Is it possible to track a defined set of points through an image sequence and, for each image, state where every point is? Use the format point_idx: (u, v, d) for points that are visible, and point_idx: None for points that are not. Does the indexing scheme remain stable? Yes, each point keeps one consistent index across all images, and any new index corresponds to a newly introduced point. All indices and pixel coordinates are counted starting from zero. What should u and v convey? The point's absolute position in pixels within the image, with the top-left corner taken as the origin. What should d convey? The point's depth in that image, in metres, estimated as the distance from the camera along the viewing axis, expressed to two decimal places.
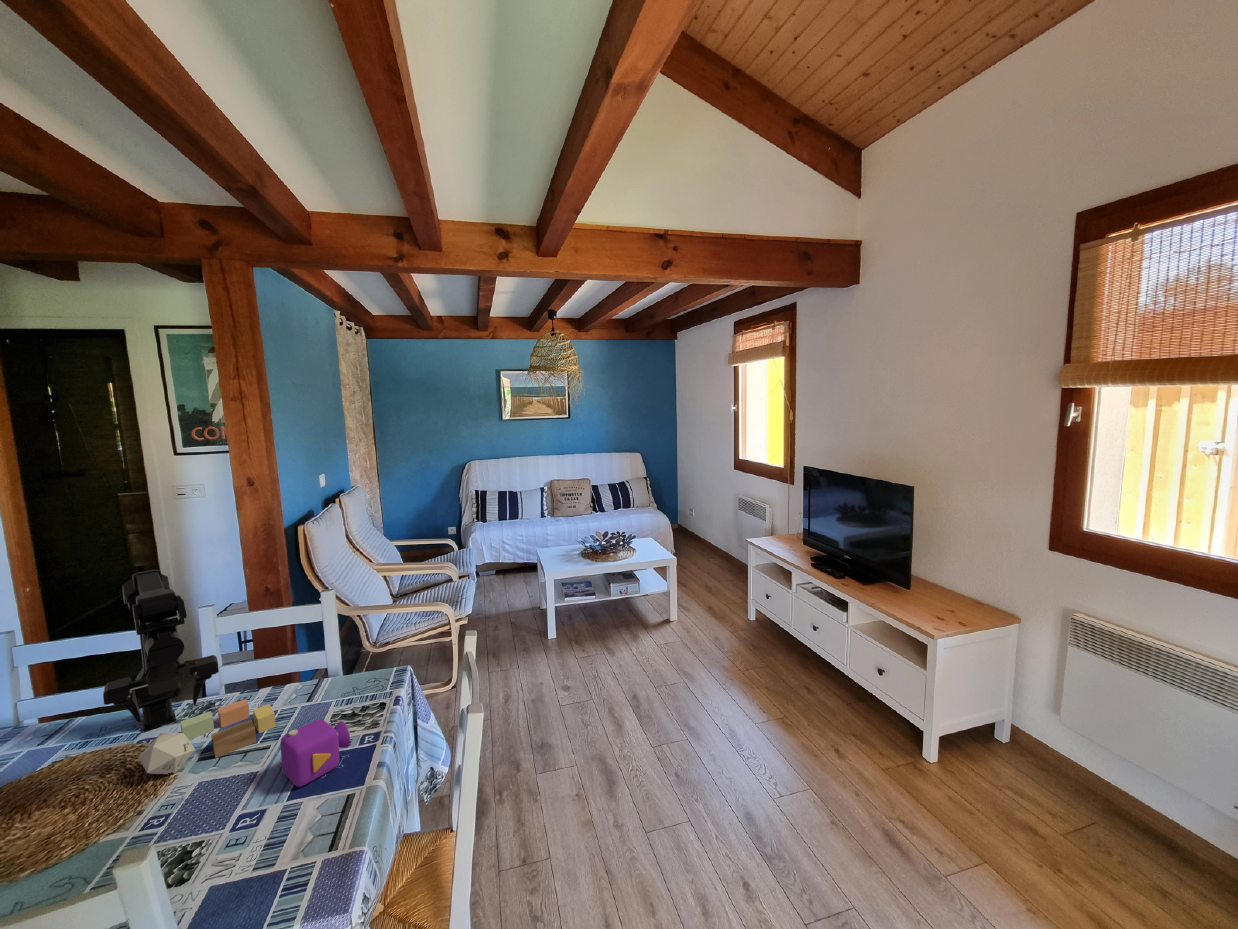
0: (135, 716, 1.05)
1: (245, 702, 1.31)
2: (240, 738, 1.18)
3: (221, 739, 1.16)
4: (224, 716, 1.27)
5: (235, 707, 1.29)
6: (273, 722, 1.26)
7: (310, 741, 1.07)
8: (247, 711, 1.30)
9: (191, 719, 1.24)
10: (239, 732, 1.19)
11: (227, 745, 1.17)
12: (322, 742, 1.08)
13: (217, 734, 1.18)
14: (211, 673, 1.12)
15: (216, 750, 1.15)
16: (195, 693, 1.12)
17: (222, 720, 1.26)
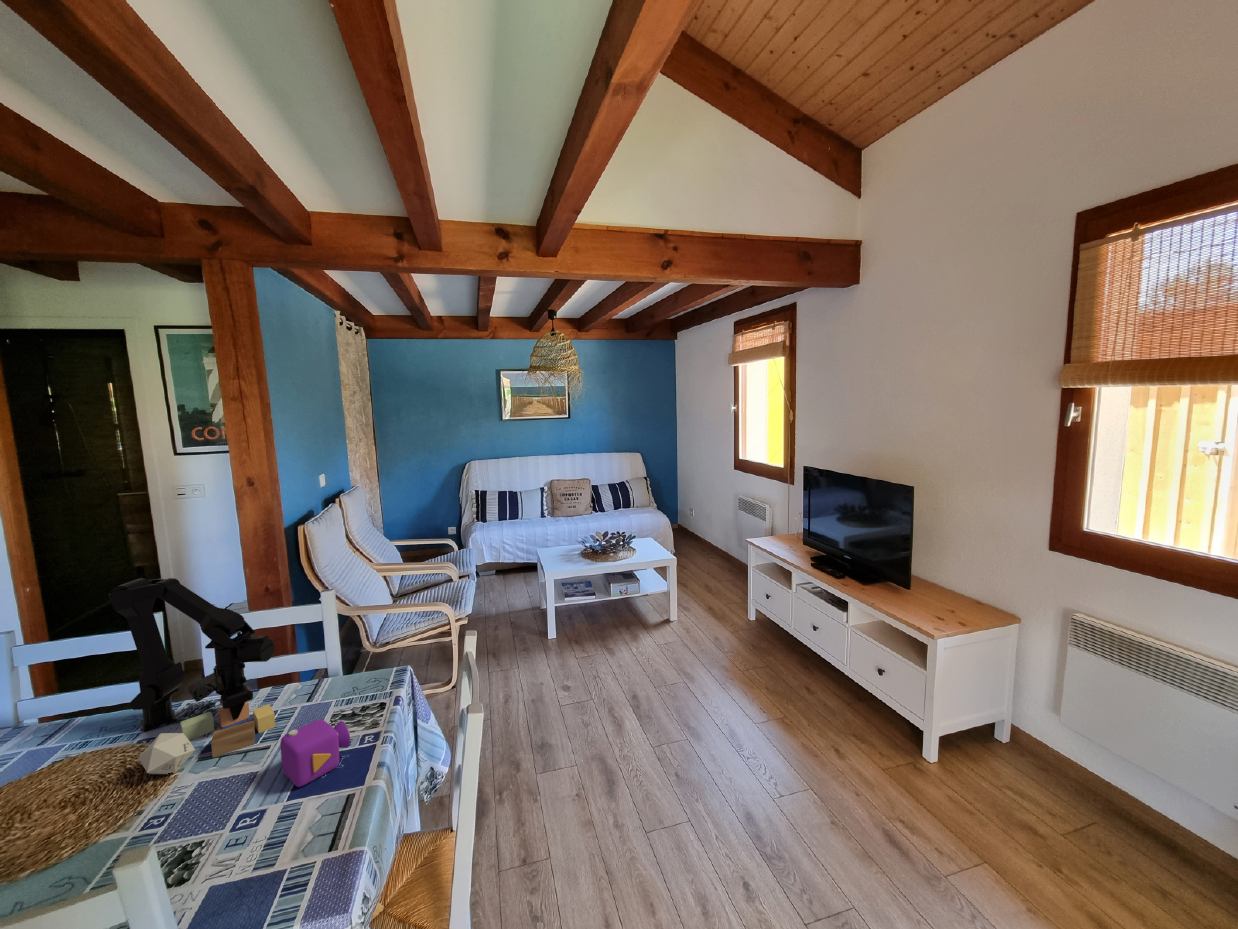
0: None
1: None
2: (238, 739, 1.18)
3: (219, 738, 1.16)
4: (224, 716, 1.27)
5: None
6: (273, 722, 1.26)
7: (310, 741, 1.07)
8: (247, 710, 1.30)
9: (191, 719, 1.24)
10: (237, 733, 1.18)
11: (225, 745, 1.16)
12: (322, 742, 1.08)
13: (218, 732, 1.19)
14: (222, 706, 1.21)
15: (213, 749, 1.15)
16: None
17: (222, 720, 1.26)
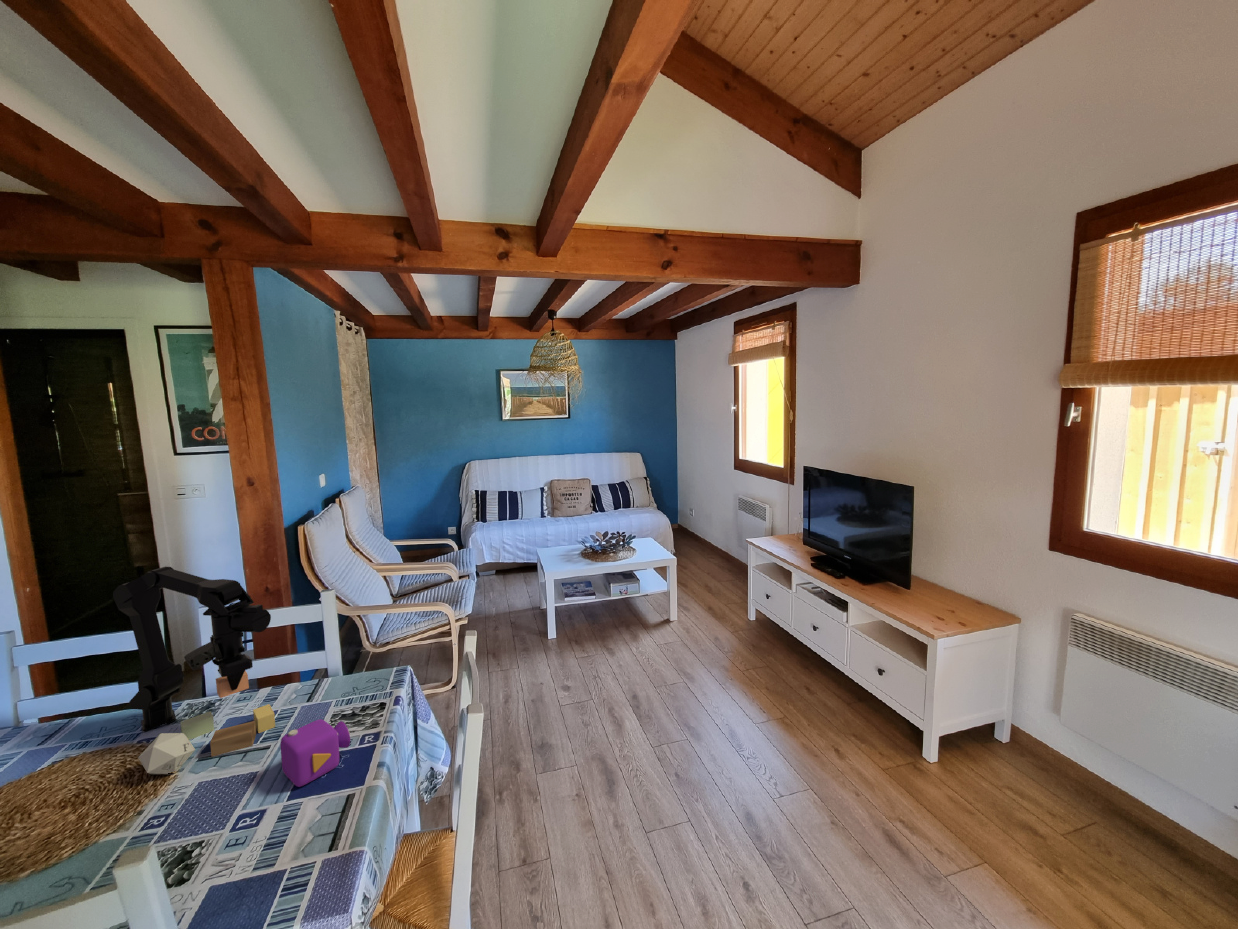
0: None
1: (244, 672, 1.27)
2: (236, 740, 1.18)
3: (219, 738, 1.17)
4: (223, 686, 1.22)
5: None
6: (273, 722, 1.26)
7: (310, 741, 1.07)
8: (246, 681, 1.26)
9: (191, 719, 1.24)
10: (236, 733, 1.18)
11: (223, 746, 1.16)
12: (322, 742, 1.08)
13: (219, 732, 1.19)
14: (221, 674, 1.17)
15: (212, 749, 1.15)
16: (228, 680, 1.23)
17: (220, 690, 1.22)
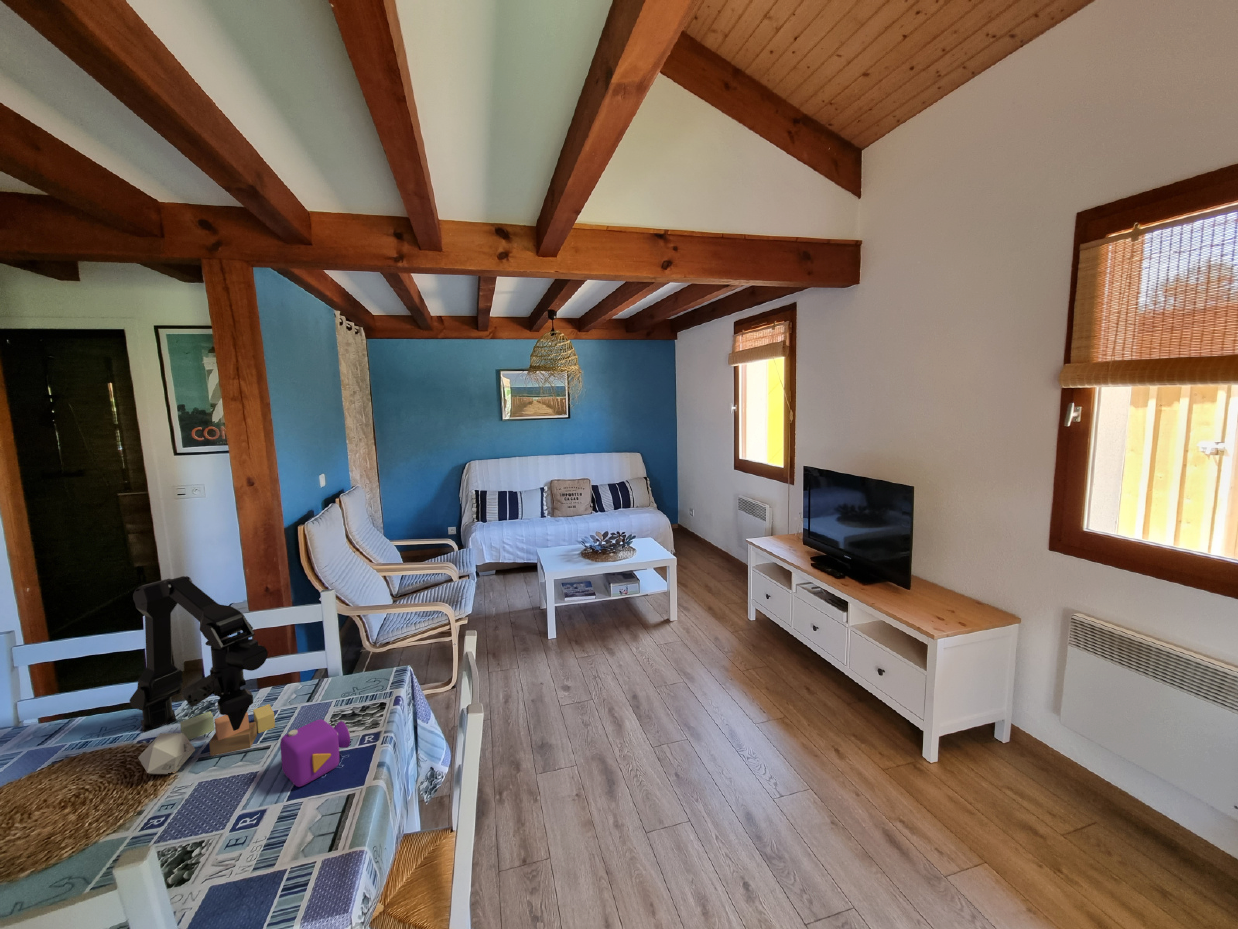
0: None
1: None
2: (234, 741, 1.17)
3: None
4: (221, 727, 1.16)
5: None
6: (273, 722, 1.26)
7: (310, 741, 1.07)
8: (246, 721, 1.20)
9: (191, 719, 1.24)
10: (235, 734, 1.18)
11: (222, 746, 1.16)
12: (322, 742, 1.08)
13: None
14: (219, 711, 1.11)
15: (211, 748, 1.16)
16: None
17: (219, 732, 1.16)
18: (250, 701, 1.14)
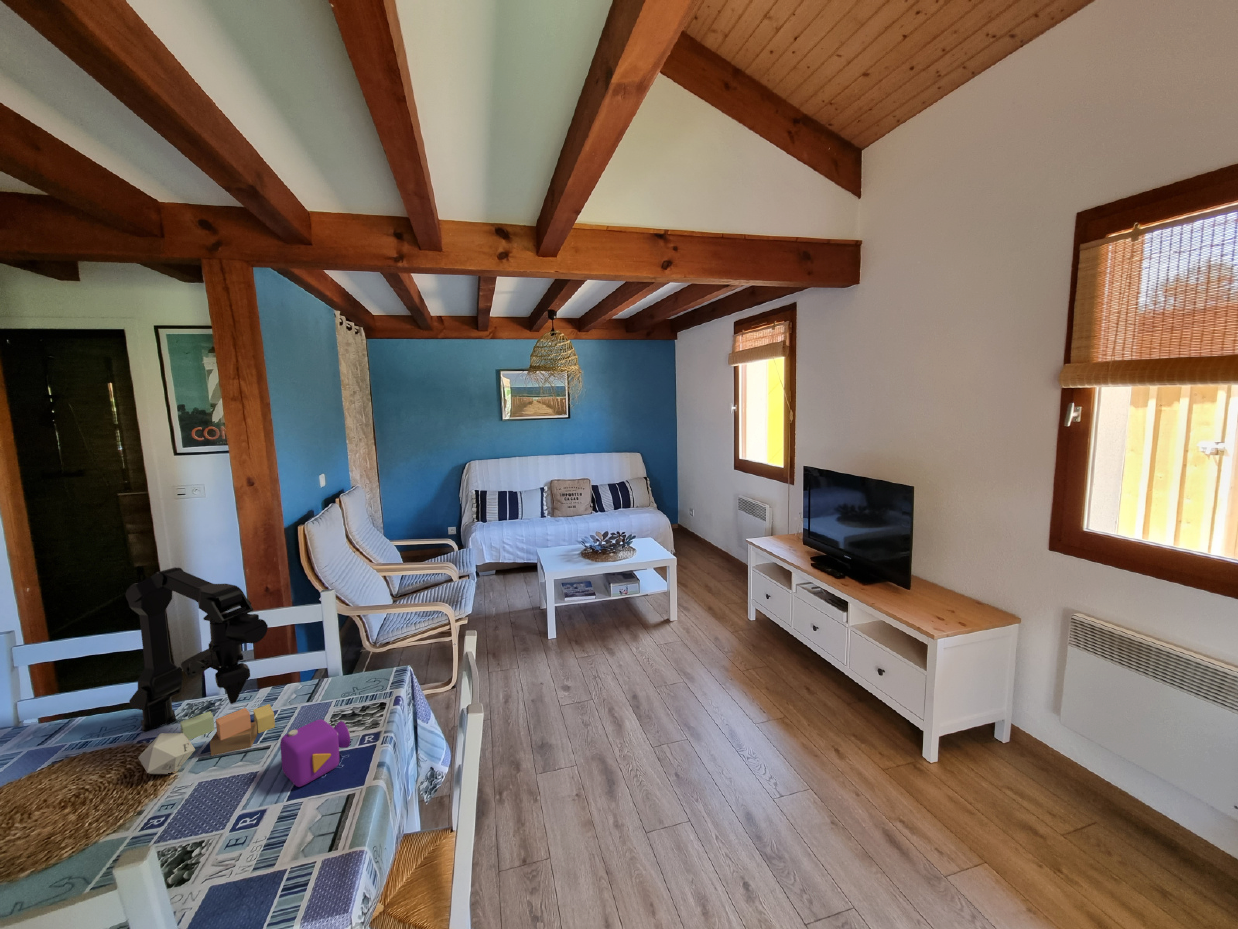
0: None
1: (246, 711, 1.21)
2: (235, 740, 1.17)
3: (219, 738, 1.17)
4: (224, 727, 1.16)
5: (236, 717, 1.18)
6: (273, 722, 1.26)
7: (310, 741, 1.07)
8: (248, 721, 1.20)
9: (191, 719, 1.24)
10: (235, 734, 1.18)
11: (222, 746, 1.17)
12: (322, 742, 1.08)
13: None
14: (217, 684, 1.13)
15: (212, 748, 1.16)
16: None
17: (221, 731, 1.16)
18: (247, 675, 1.16)
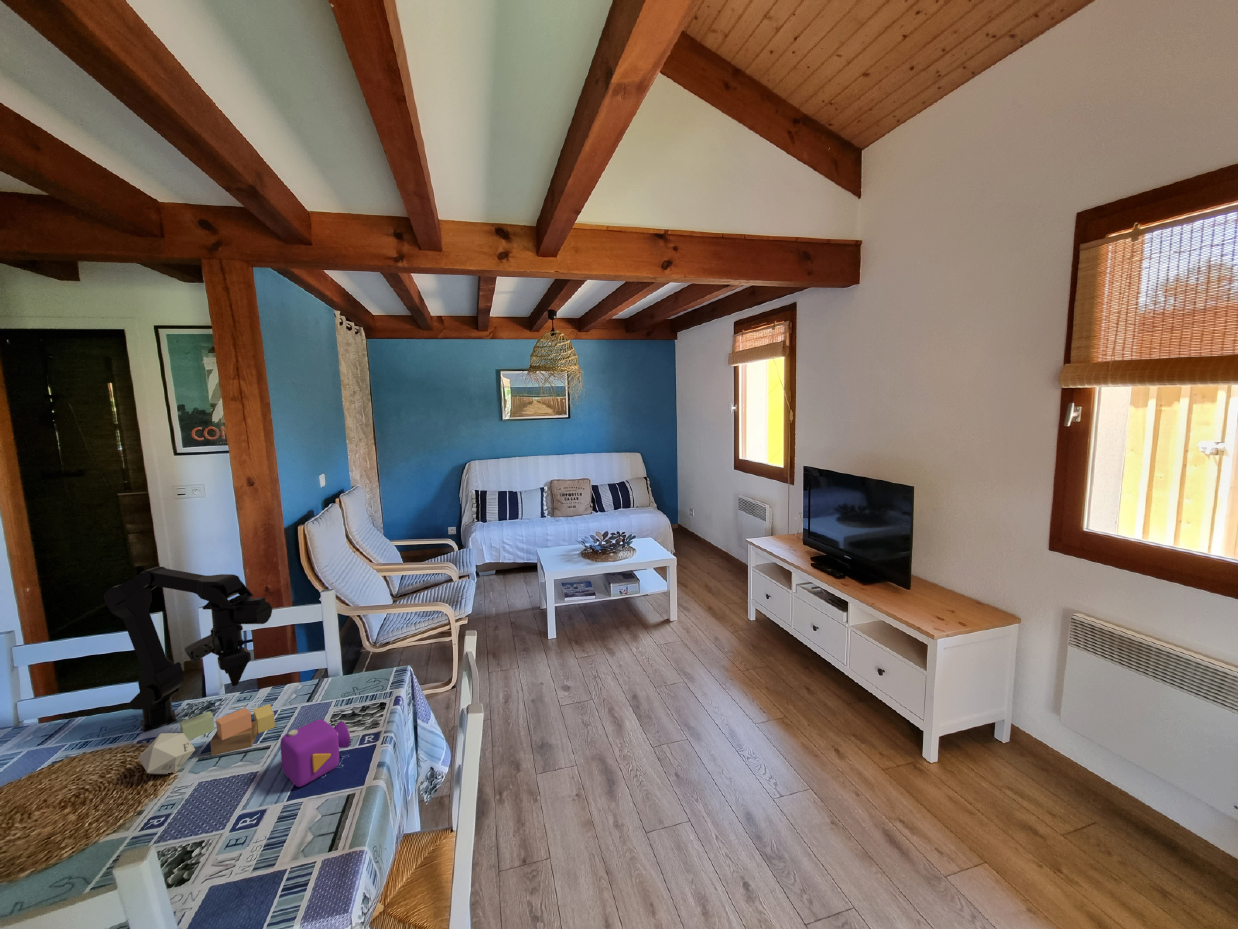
0: None
1: (246, 711, 1.21)
2: (236, 740, 1.18)
3: (219, 737, 1.17)
4: (225, 727, 1.16)
5: (237, 717, 1.18)
6: (272, 722, 1.26)
7: (310, 741, 1.07)
8: (249, 720, 1.20)
9: (191, 719, 1.24)
10: None
11: (223, 745, 1.17)
12: (322, 742, 1.08)
13: None
14: (219, 666, 1.20)
15: (212, 748, 1.16)
16: None
17: (223, 731, 1.16)
18: (248, 658, 1.23)
